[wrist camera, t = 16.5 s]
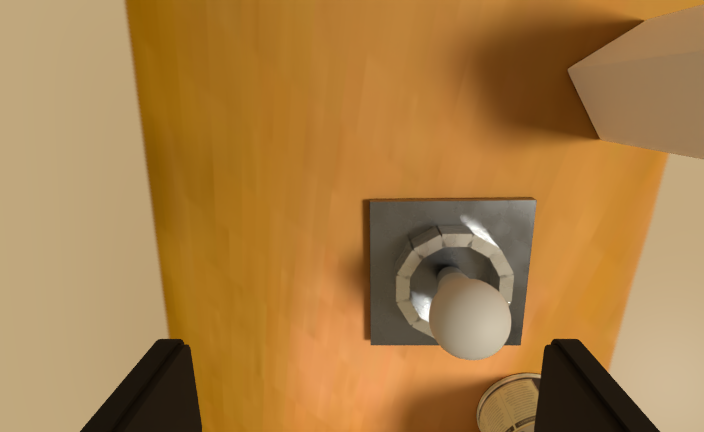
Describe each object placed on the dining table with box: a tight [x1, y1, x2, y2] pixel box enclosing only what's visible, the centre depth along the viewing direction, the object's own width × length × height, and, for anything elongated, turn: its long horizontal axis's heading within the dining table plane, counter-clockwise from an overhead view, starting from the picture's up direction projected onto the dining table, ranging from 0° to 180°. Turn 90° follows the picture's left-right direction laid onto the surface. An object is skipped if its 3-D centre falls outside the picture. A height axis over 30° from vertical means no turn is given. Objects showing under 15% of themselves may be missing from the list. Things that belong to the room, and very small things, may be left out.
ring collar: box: [370, 197, 537, 345], centre depth 39 cm, size 15×15×4 cm
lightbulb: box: [429, 266, 511, 360], centre depth 34 cm, size 6×6×11 cm
